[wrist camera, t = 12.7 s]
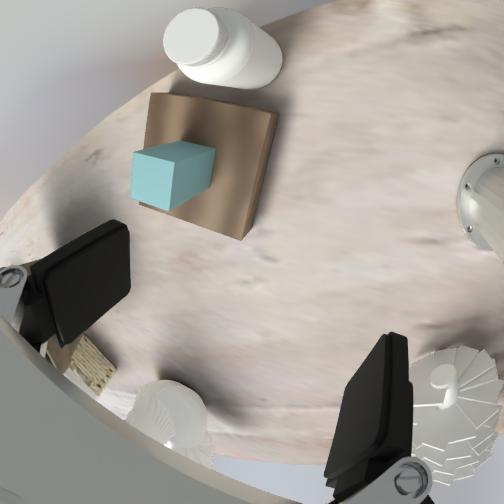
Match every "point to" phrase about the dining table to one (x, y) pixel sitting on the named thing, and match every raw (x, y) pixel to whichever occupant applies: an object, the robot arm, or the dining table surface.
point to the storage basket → (89, 369)
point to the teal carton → (171, 173)
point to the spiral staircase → (454, 411)
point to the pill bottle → (222, 48)
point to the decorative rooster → (173, 419)
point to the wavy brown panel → (216, 156)
